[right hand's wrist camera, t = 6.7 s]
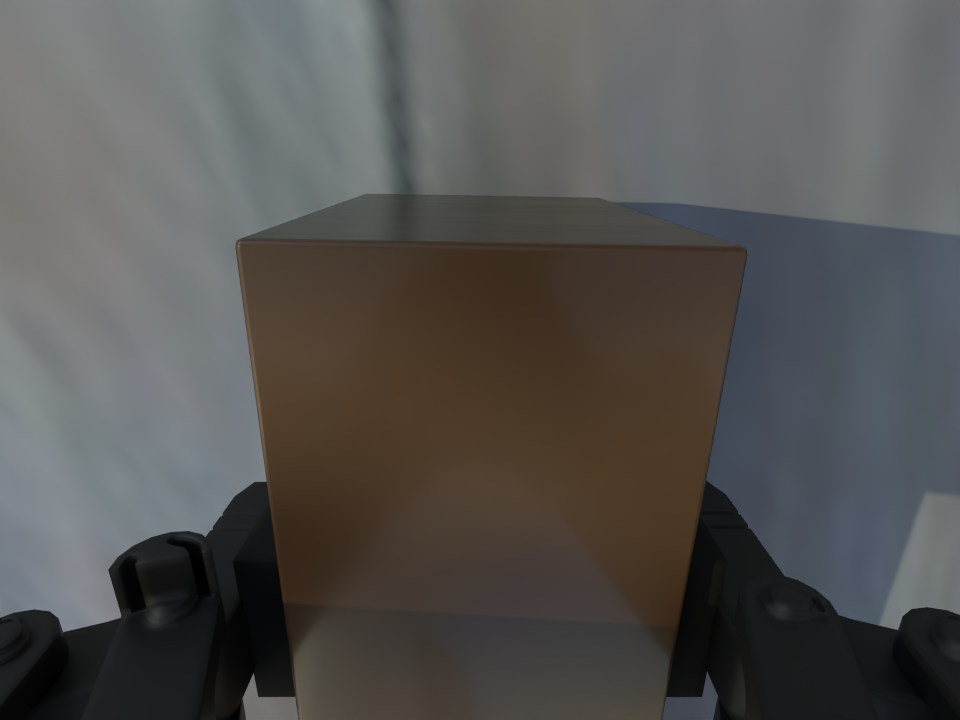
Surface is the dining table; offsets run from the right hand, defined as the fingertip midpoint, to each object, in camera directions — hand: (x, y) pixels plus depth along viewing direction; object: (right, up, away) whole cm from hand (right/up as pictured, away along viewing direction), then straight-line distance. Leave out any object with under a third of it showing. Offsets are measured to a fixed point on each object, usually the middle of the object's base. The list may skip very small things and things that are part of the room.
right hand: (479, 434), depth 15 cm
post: (0, -25, +10) cm, 27 cm away
